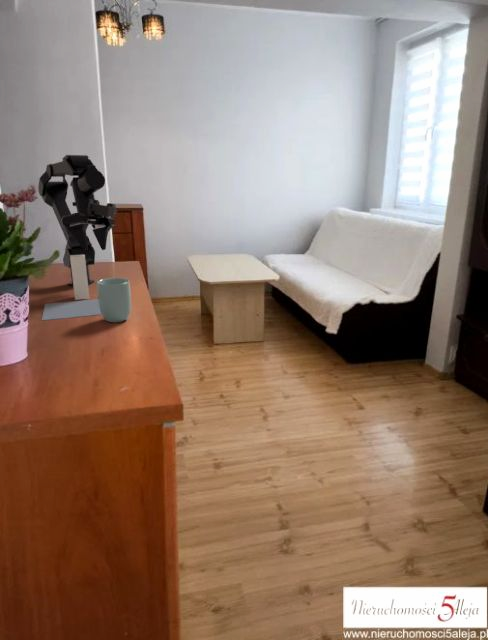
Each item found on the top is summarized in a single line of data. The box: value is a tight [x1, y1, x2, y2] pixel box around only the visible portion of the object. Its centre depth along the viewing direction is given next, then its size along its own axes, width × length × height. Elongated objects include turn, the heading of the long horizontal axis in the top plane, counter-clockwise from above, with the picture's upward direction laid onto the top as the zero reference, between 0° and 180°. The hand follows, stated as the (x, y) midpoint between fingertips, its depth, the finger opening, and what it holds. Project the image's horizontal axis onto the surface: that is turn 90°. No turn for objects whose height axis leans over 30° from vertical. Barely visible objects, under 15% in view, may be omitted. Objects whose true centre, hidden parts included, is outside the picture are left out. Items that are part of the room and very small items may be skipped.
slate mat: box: [40, 298, 102, 322], centre depth 125 cm, size 16×20×1 cm
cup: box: [96, 277, 132, 323], centre depth 113 cm, size 8×8×10 cm
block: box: [70, 255, 91, 301], centre depth 134 cm, size 4×4×12 cm
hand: (95, 249), depth 138 cm, fingers open, 9 cm apart
